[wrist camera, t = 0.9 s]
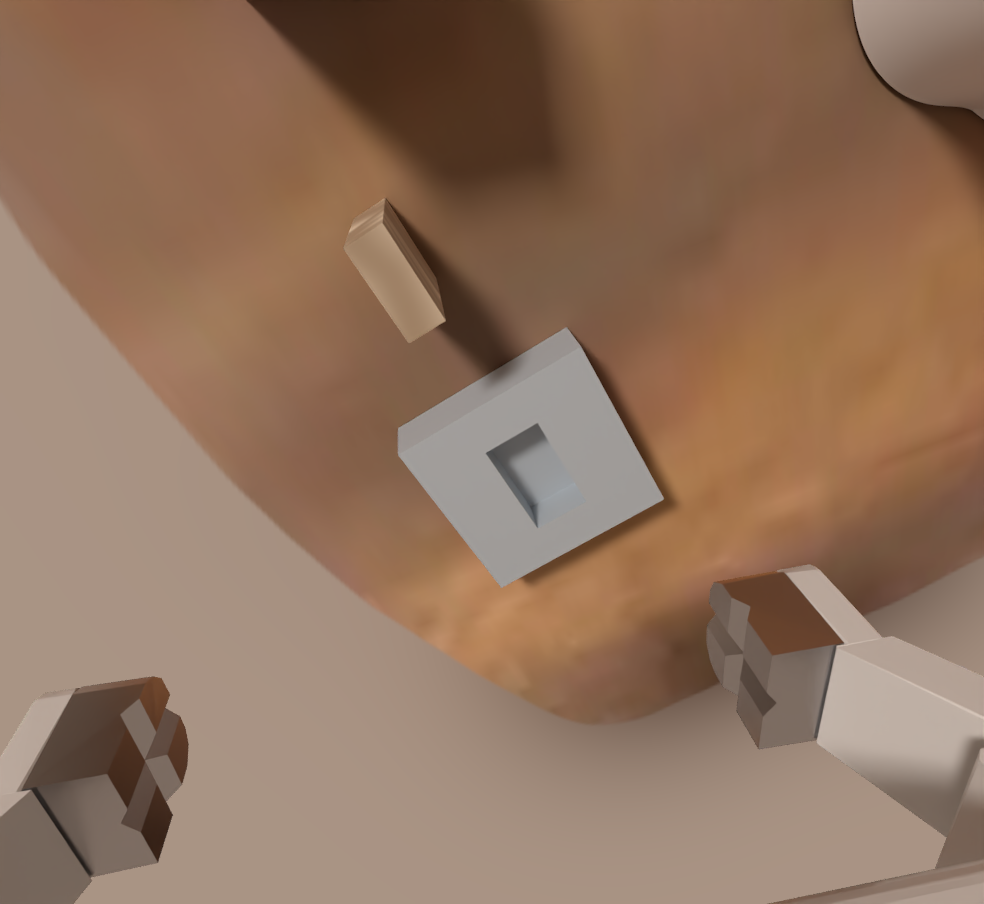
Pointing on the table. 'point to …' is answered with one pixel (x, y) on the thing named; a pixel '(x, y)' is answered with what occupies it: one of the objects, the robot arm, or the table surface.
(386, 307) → the wooden peg
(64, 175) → the table surface
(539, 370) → the grey peg hole block
